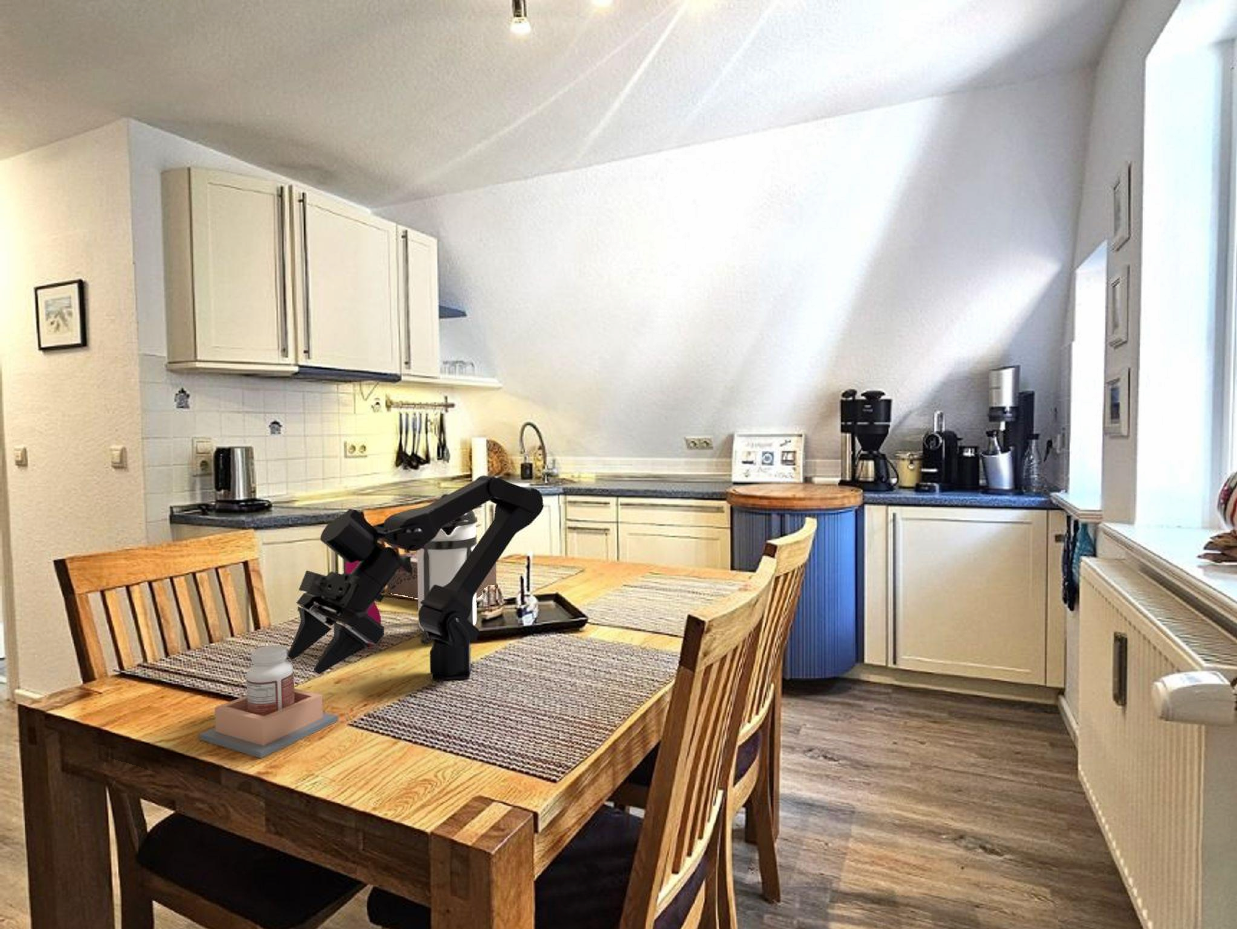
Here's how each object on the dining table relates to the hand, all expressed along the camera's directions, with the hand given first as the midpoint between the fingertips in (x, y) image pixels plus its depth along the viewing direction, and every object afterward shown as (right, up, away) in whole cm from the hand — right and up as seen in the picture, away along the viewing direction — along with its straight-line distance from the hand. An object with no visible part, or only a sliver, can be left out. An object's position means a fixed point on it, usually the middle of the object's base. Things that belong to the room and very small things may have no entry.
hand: (302, 665), depth 105 cm
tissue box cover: (+1, -4, +77) cm, 77 cm away
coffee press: (+11, -6, +44) cm, 46 cm away
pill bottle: (-3, -8, -3) cm, 9 cm away
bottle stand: (-3, -9, -3) cm, 10 cm away
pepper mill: (-5, -6, +37) cm, 38 cm away
